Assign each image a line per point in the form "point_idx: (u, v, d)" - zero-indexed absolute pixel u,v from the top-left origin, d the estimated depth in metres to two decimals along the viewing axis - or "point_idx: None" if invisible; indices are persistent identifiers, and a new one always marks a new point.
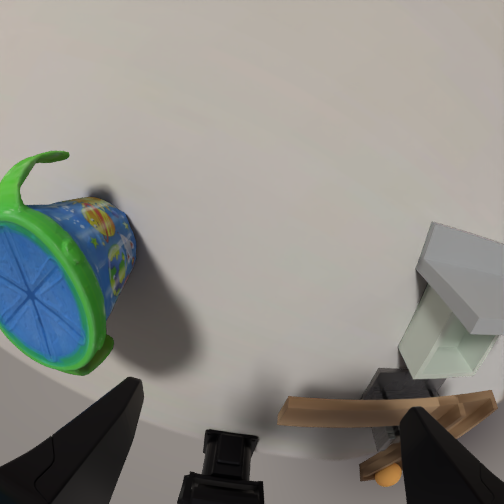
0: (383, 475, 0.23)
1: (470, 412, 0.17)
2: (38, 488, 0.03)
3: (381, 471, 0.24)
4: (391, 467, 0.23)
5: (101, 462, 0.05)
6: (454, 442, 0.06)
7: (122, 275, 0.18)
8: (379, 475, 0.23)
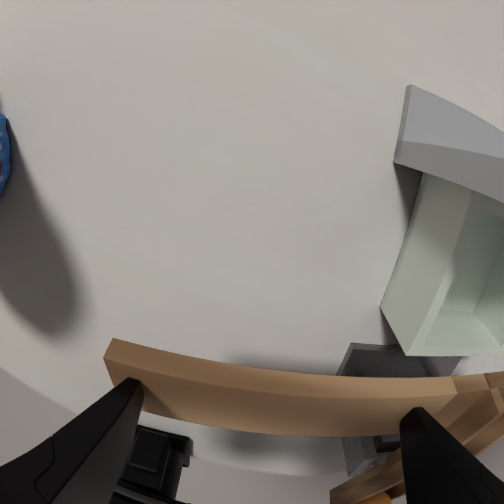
0: None
1: None
2: (38, 488, 0.03)
3: (359, 503, 0.15)
4: (375, 497, 0.14)
5: (101, 462, 0.05)
6: (453, 442, 0.06)
7: None
8: None
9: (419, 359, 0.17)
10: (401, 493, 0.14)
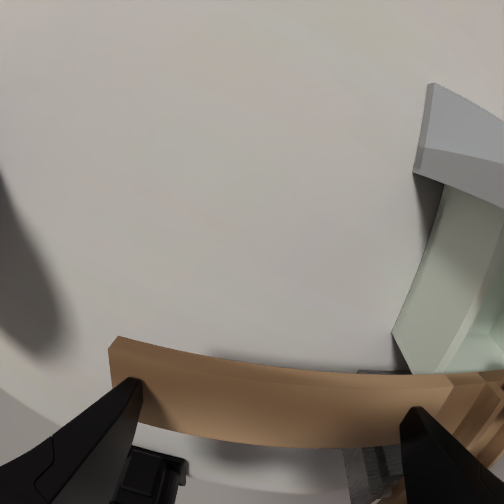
0: None
1: None
2: (38, 488, 0.03)
3: None
4: None
5: (101, 462, 0.05)
6: (453, 442, 0.06)
7: None
8: None
9: None
10: None
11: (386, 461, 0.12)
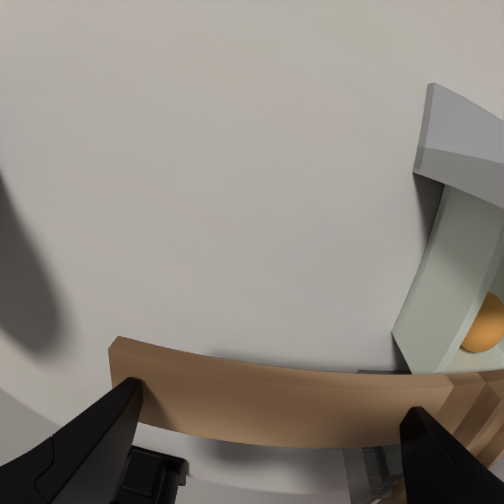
0: None
1: None
2: (38, 488, 0.03)
3: None
4: (465, 348, 0.12)
5: (101, 462, 0.05)
6: (453, 442, 0.06)
7: None
8: None
9: None
10: None
11: (386, 461, 0.12)
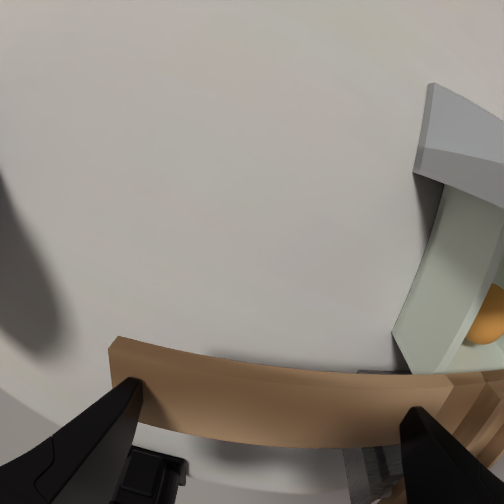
0: None
1: None
2: (38, 488, 0.03)
3: None
4: (475, 343, 0.11)
5: (101, 462, 0.05)
6: (453, 442, 0.06)
7: None
8: None
9: None
10: None
11: (386, 461, 0.12)
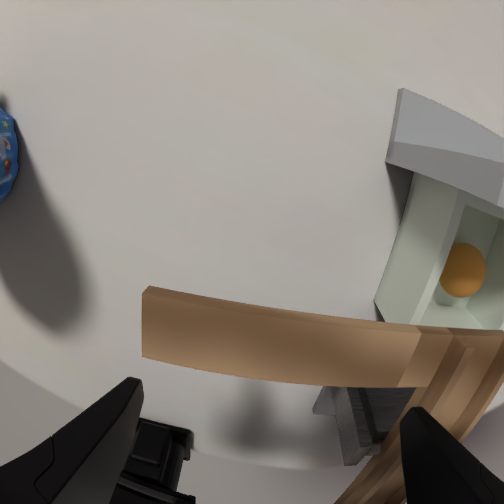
0: (445, 284, 0.14)
1: (481, 373, 0.12)
2: (38, 488, 0.03)
3: (450, 278, 0.13)
4: (464, 292, 0.13)
5: (101, 462, 0.05)
6: (453, 442, 0.06)
7: None
8: (443, 275, 0.14)
9: None
10: (404, 498, 0.14)
11: (374, 419, 0.15)
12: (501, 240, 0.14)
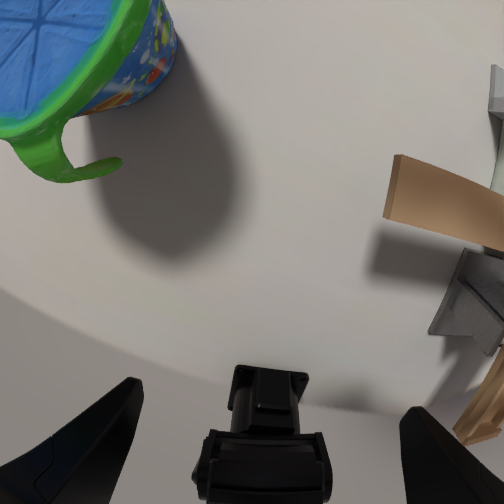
0: None
1: None
2: (39, 487, 0.03)
3: None
4: None
5: (101, 462, 0.05)
6: (453, 442, 0.06)
7: (164, 36, 0.11)
8: None
9: None
10: None
11: (498, 312, 0.16)
12: None
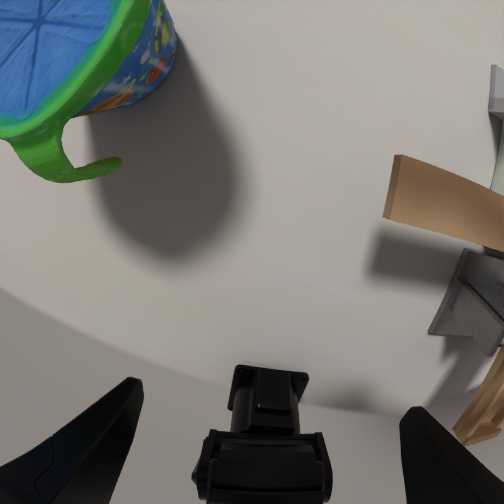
0: None
1: None
2: (38, 488, 0.03)
3: None
4: None
5: (101, 462, 0.05)
6: (453, 442, 0.06)
7: (165, 36, 0.11)
8: None
9: None
10: None
11: (498, 312, 0.16)
12: None
